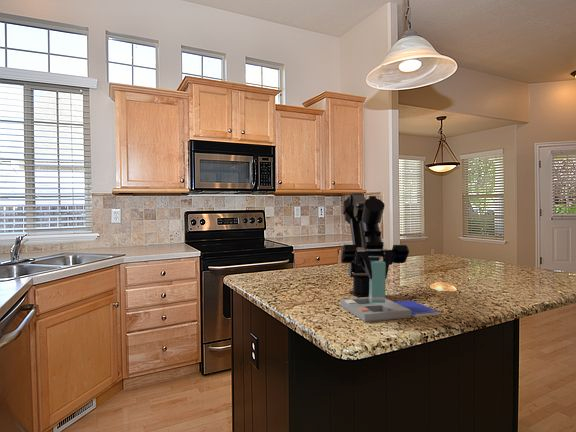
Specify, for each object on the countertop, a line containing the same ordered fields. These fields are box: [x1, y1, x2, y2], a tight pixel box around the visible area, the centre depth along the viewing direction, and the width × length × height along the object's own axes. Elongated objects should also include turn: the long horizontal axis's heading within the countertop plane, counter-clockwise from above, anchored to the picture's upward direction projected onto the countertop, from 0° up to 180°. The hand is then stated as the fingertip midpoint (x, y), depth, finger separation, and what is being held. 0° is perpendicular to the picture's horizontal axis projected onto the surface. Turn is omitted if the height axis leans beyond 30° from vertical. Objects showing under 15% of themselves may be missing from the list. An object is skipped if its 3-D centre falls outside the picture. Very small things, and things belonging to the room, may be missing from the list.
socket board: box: [339, 296, 412, 323], centre depth 105 cm, size 16×14×2 cm
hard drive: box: [394, 300, 441, 318], centre depth 107 cm, size 2×8×12 cm
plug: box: [368, 260, 386, 303], centre depth 101 cm, size 4×4×11 cm
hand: (378, 278), depth 99 cm, fingers closed on plug, 4 cm apart
